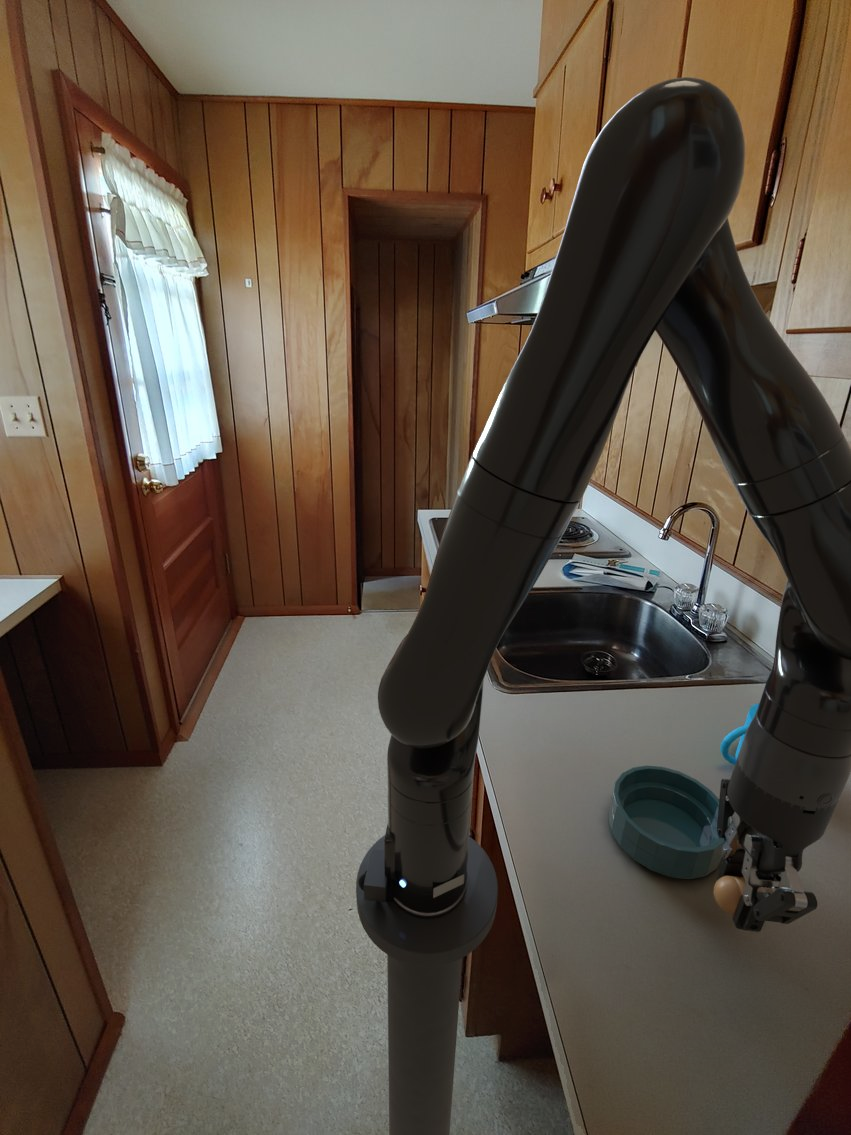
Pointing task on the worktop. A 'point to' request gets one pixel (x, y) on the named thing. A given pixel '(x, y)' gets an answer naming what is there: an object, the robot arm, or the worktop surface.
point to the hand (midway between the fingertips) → (736, 905)
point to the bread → (729, 892)
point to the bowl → (666, 821)
